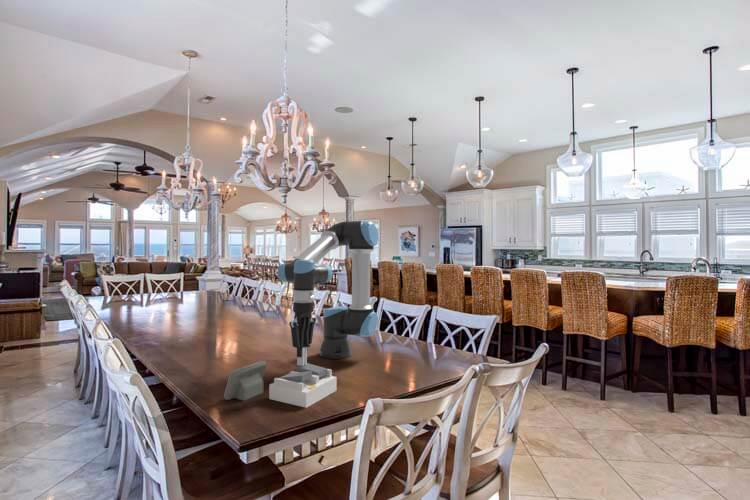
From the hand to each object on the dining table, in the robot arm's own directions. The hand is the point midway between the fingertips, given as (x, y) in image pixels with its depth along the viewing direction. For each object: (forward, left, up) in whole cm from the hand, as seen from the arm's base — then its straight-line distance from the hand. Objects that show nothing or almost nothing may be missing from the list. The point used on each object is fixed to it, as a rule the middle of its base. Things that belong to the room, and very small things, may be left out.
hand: (301, 364), depth 150 cm
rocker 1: (+4, -8, -3) cm, 10 cm away
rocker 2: (+4, +1, -3) cm, 5 cm away
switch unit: (+4, -4, -9) cm, 11 cm away
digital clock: (-14, -14, -9) cm, 22 cm away
